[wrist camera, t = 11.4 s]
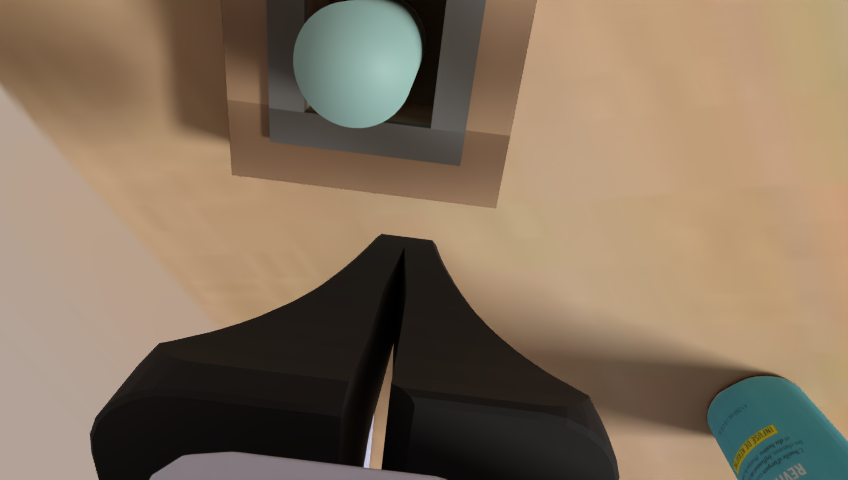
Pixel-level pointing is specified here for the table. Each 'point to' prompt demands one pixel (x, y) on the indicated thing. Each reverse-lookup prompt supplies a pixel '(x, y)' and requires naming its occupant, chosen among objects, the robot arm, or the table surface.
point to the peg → (359, 60)
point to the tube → (776, 433)
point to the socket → (397, 136)
